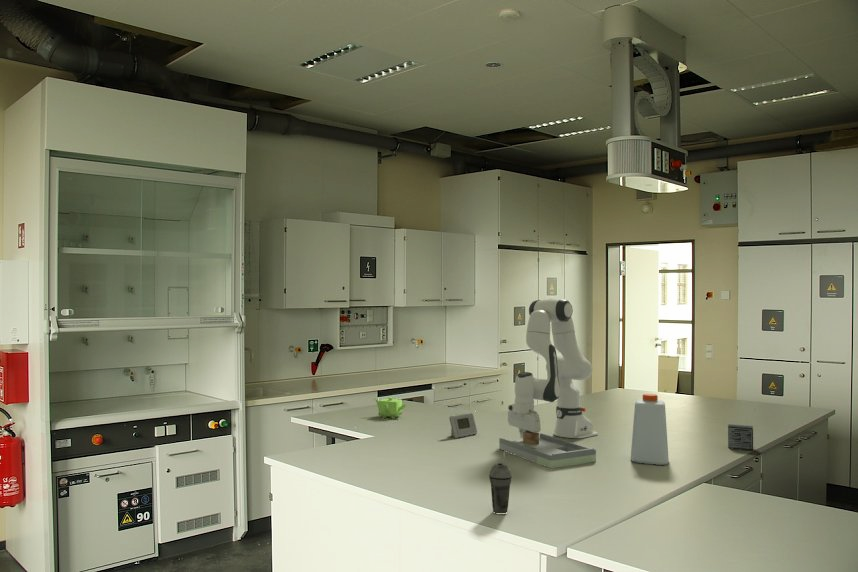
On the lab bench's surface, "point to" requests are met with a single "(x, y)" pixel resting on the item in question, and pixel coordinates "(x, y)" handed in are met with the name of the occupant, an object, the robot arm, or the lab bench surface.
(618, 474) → the lab bench surface
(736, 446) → the small box
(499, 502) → the beverage cup
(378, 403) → the kettle
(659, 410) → the plastic bottle
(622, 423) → the lab bench surface
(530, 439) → the walnut block
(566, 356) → the robot arm
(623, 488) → the lab bench surface
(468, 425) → the digital clock
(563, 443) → the box
